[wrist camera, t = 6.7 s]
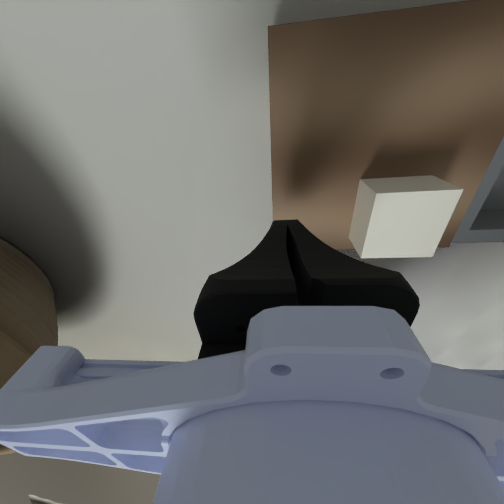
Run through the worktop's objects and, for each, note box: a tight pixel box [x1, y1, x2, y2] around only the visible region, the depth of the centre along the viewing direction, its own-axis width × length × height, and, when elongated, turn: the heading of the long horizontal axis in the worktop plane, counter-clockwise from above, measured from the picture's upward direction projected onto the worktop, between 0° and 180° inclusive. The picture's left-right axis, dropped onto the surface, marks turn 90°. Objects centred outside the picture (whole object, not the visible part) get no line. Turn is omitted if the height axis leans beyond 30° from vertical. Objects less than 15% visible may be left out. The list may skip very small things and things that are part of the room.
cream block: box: [349, 175, 463, 258], centre depth 13 cm, size 4×4×2 cm
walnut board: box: [268, 0, 504, 250], centre depth 14 cm, size 12×12×4 cm
